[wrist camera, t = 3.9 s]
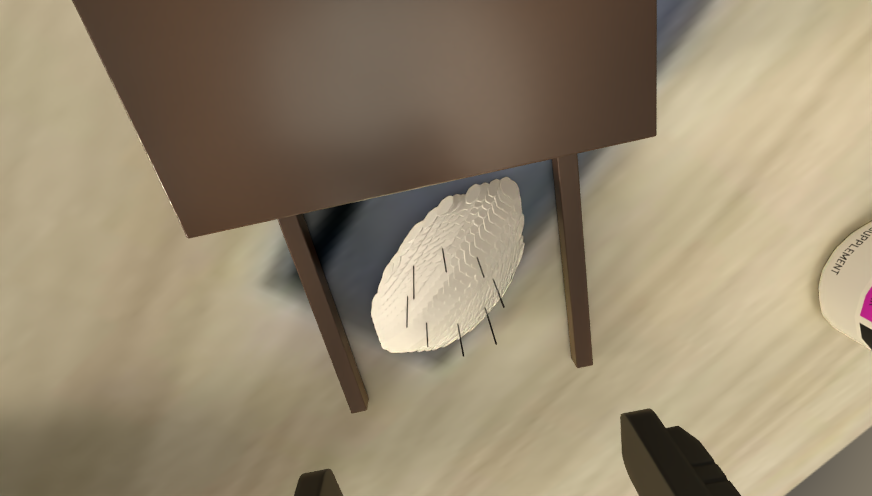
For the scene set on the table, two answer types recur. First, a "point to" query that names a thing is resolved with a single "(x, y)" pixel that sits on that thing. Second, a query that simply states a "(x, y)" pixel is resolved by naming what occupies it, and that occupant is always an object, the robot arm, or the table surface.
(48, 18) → the table surface
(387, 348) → the pincushion
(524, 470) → the table surface
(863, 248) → the supplement can
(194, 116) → the box with long handles
